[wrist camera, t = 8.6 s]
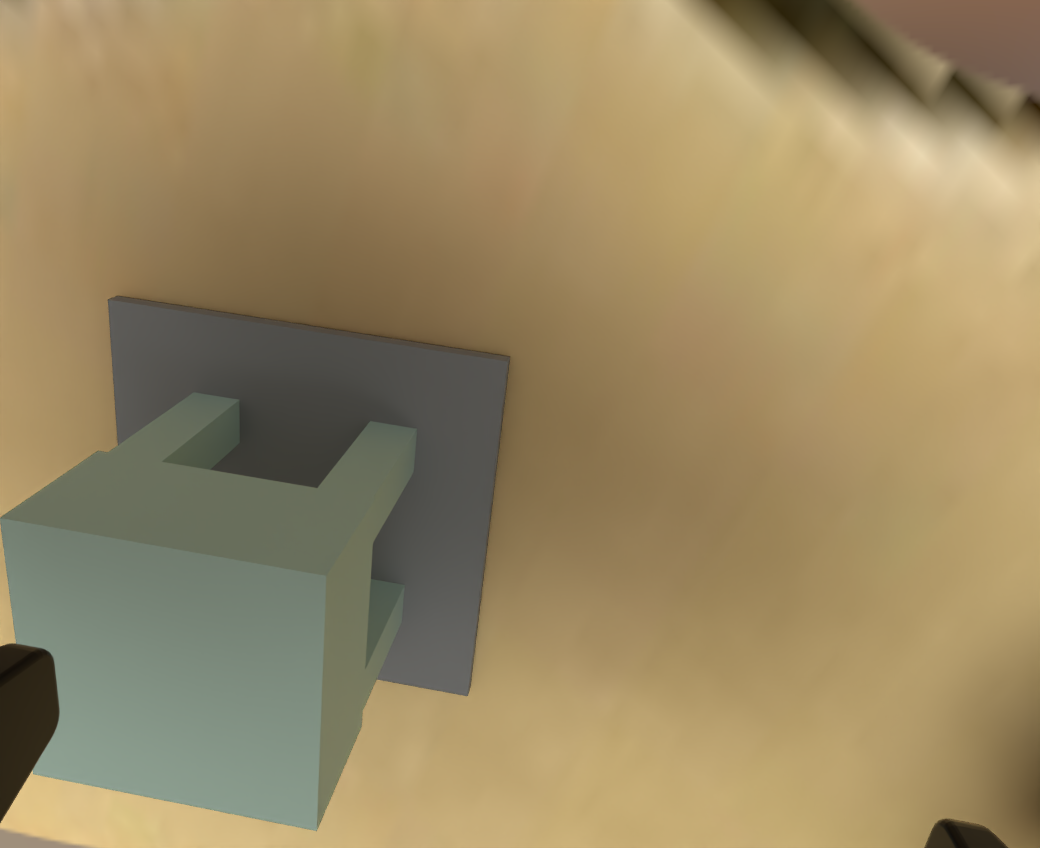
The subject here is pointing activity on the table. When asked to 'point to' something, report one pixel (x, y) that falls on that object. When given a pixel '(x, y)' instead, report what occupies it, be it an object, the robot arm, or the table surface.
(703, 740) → the table surface
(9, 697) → the robot arm
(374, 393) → the mat
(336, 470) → the notched green block
